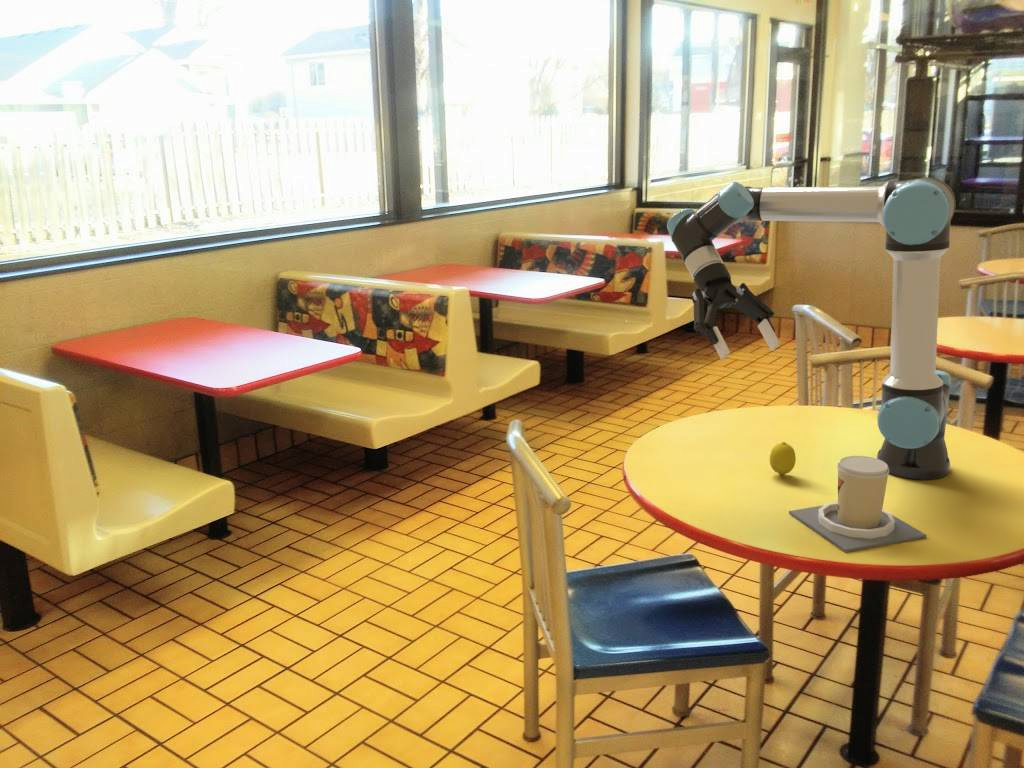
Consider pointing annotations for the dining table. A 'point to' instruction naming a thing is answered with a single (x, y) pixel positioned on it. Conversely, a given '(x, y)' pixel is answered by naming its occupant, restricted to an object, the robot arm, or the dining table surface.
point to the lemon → (782, 458)
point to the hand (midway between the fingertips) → (751, 351)
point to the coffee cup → (861, 491)
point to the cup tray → (855, 542)
